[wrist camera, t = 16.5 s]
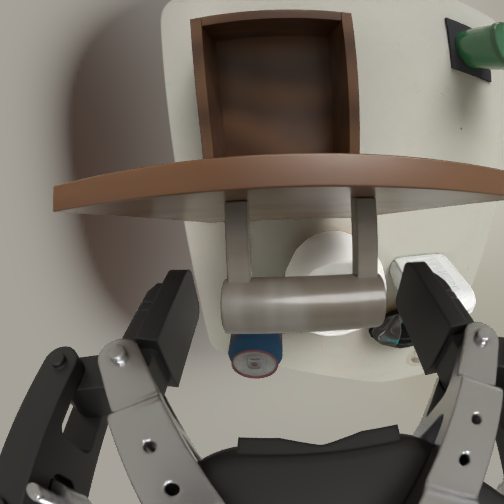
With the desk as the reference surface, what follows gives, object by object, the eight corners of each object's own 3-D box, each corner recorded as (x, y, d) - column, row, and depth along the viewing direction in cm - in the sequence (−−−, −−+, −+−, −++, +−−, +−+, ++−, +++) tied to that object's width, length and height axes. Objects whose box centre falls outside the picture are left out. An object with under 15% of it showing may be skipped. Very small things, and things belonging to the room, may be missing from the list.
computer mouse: (435, 330, 45) (445, 351, 40) (360, 337, 46) (366, 361, 41) (451, 296, 40) (465, 316, 35) (371, 299, 42) (381, 324, 37)
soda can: (279, 321, 45) (280, 382, 34) (237, 319, 45) (228, 379, 35) (282, 287, 41) (285, 349, 31) (235, 285, 42) (224, 346, 31)
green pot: (451, 23, 19) (490, 14, 11) (482, 37, 18) (522, 33, 11) (456, 64, 22) (498, 62, 14) (487, 75, 22) (528, 79, 14)
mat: (444, 17, 19) (446, 17, 19) (484, 34, 18) (485, 34, 18) (451, 68, 23) (453, 68, 23) (489, 82, 22) (491, 82, 22)
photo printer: (386, 280, 40) (415, 337, 29) (390, 256, 37) (423, 311, 27) (440, 273, 38) (475, 323, 28) (445, 250, 36) (485, 298, 25)
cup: (384, 244, 37) (410, 285, 28) (333, 304, 42) (344, 350, 34) (316, 199, 34) (330, 233, 26) (266, 270, 40) (264, 317, 32)
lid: (52, 185, 7) (68, 347, 7) (520, 173, 5) (515, 328, 6) (210, 214, 27) (212, 265, 28) (357, 209, 26) (359, 260, 26)
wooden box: (208, 37, 25) (190, 19, 18) (333, 31, 23) (351, 13, 17) (223, 192, 35) (211, 216, 28) (339, 188, 33) (356, 211, 26)
